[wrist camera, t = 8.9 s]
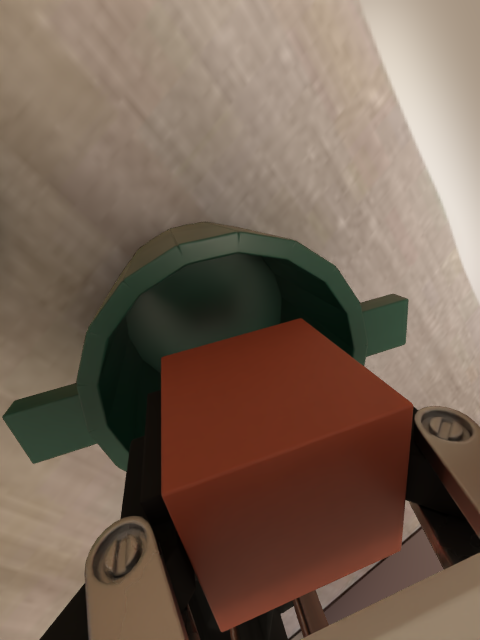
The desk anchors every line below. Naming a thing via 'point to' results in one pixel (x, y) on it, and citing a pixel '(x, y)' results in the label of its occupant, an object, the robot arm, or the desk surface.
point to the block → (280, 466)
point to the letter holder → (258, 619)
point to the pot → (193, 328)
